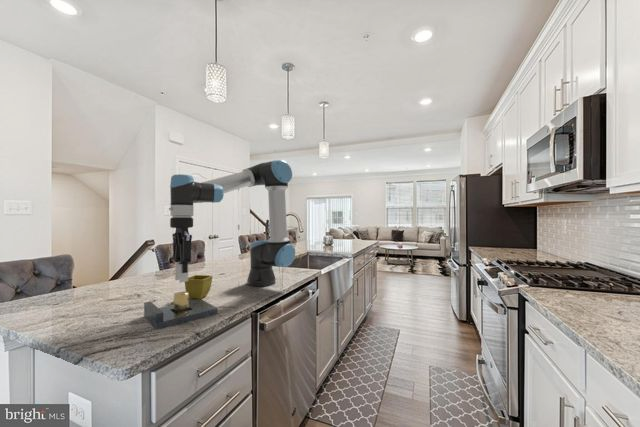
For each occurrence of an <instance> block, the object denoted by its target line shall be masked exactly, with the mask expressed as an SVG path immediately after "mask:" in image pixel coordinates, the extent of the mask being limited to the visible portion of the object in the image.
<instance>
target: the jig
mask: <svg viewBox="0 0 640 427" xmlns="http://www.w3.org/2000/svg"><path fill="white" fill-rule="evenodd" d="M218 310H219V308H218V307H217V306H215V305H212V304H211V303H209V302H207V301H205V300H203V298H201V299H194V300H189V311H185V312H180V313H176V314H175V313H174V304H170V305H167V306H162V307H158V306H157V305H155V304H154V303H153V302H152V301H151V300H150V301H147V302H146V301H145V302H143V317H144V319H146V320H147V321H148V322H149V324H150V325H151V326H152V327H153V328H154V329H155V330H156V331H157V330H160V329H164V328H168V327H171V326H175V325H179V324H183V323H188V322H191V321H195V320H198V319H201V318H206V317H210V316H213V315H217V314H219V313H218Z"/></svg>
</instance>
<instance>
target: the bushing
mask: <svg viewBox="0 0 640 427" xmlns="http://www.w3.org/2000/svg"><path fill="white" fill-rule="evenodd" d="M189 299H190V297H189V292H186V290H185V291H177V292H175V293H174V294H173V305H174V313H175V314H176V313H180V312H185V311H189V301H190V300H189Z"/></svg>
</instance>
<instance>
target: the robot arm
mask: <svg viewBox="0 0 640 427" xmlns="http://www.w3.org/2000/svg"><path fill="white" fill-rule="evenodd" d="M292 178H293V171H292V167H291V165H290V164H289V163H288V162H287V161H285V160H282V159H277V160H275V159H274V160H271V161H267V162H260V163H258V164H255V165H253V166H251V167H248V168H245V169H242V171H241V172H237V173H232V174H229V175H225V176H221V177H218V178H214V179H210V180H205V181H202V182H197V181H195V180H194V177H193V175H189V174H183V173H182V174H173V175H172V176H171V177H170V184H169V185H170V186H169V188H170V192H169V193H170V207H169V208H168V210H169V211H170V216H171V217H170V219H169V221H170V222H169V224H170V225H169V227H170V228H171V229H175V232H174V233H172V259H173V260H174V262H175V263H174V279H175V281H179V283H185V282H186V281H188V278H189V263H191V262H192V240H193V239H192V238H193V235H192V234H190V233H189V228H193V227H194V218H193V217H194V204H200V203H201V204H202V203H213V204H214V203H220V202H221V201H222V200H223V199H224V194H227V193H230V192H232V191H236V190H239V189H242V188H245V187H248V188H252V187H256V186H264V187H265V189H266V190H267V191H268V215H269V216H268V217H269V219H268V220H269V236H270V237H269V238H268V239H267V240H266V239H265V240H260V241H259V240H257V241H253V242H251V243H250V249H249V252H250V270H249V274H248V275H247V279H246V280H247V281H246V284H247V285H248V286H251V287H265V286H266V287H267V286H272V285H274V284H276V280H277V278H276V275H275V273H274V270H273V266H274V267H277V268H287V267H289V266H290V265H292V263H293V262H294V261H295V260H294V259H295V257H296V249H295V247H294V246H293V245H292V244H291V239H290V238H289V237H288V229H287V205H286V204H287V203H286V190H287V189H288V188H289V184H288V183H289V182H291V180H292Z"/></svg>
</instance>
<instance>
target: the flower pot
mask: <svg viewBox="0 0 640 427" xmlns="http://www.w3.org/2000/svg"><path fill="white" fill-rule="evenodd" d="M212 282H213V275H205V274H204V275H202V274H194V275H191V276H188V281H186V282H184V288H185V291H186V292H189V299H195V300H198V299H203V298H205V297H207V295H208V294H209V293H210V290H211V288H212Z"/></svg>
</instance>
